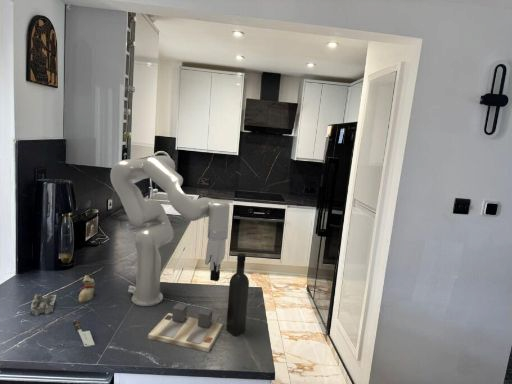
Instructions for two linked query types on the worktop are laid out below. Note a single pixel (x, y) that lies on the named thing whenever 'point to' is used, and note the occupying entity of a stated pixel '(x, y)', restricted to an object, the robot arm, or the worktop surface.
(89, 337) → the cleaver
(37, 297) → the egg carton
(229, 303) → the wine bottle
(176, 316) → the dark grey block
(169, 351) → the worktop surface
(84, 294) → the cream animal figurine
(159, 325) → the switch panel
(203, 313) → the right tab
